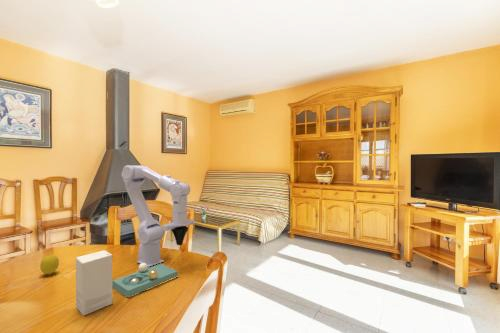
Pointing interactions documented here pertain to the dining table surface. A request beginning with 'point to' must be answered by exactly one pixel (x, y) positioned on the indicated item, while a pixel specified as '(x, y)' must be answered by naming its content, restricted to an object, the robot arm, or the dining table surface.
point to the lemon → (49, 264)
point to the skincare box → (93, 281)
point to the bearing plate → (143, 280)
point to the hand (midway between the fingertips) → (179, 244)
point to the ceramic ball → (143, 267)
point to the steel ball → (134, 280)
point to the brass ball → (153, 274)
